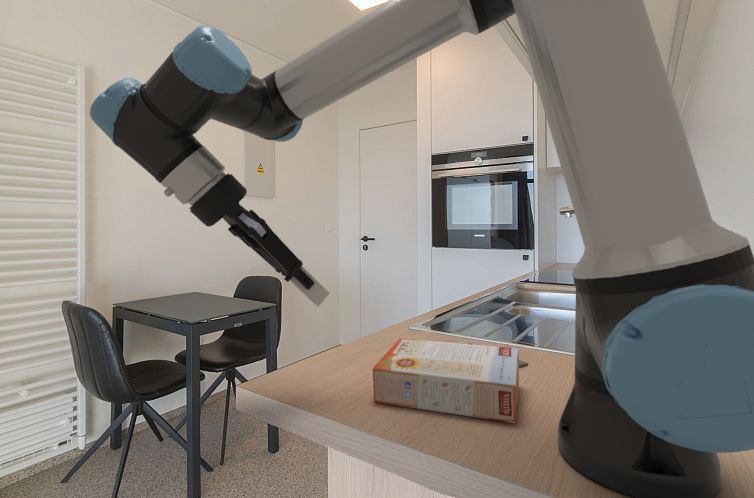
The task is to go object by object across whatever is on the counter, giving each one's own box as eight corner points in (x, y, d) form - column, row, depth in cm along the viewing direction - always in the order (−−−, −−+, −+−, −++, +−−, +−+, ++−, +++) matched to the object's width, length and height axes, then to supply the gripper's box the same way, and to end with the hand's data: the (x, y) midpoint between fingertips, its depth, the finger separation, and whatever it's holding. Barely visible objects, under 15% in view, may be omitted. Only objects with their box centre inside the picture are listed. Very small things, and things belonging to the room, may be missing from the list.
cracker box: (372, 404, 60) (517, 426, 53) (370, 366, 60) (517, 383, 52) (400, 368, 73) (520, 381, 66) (399, 337, 73) (519, 346, 65)
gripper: (183, 210, 59) (294, 310, 67) (190, 204, 47) (322, 326, 56) (220, 176, 61) (323, 277, 70) (235, 163, 50) (355, 286, 58)
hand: (322, 299), depth 63 cm, fingers closed
